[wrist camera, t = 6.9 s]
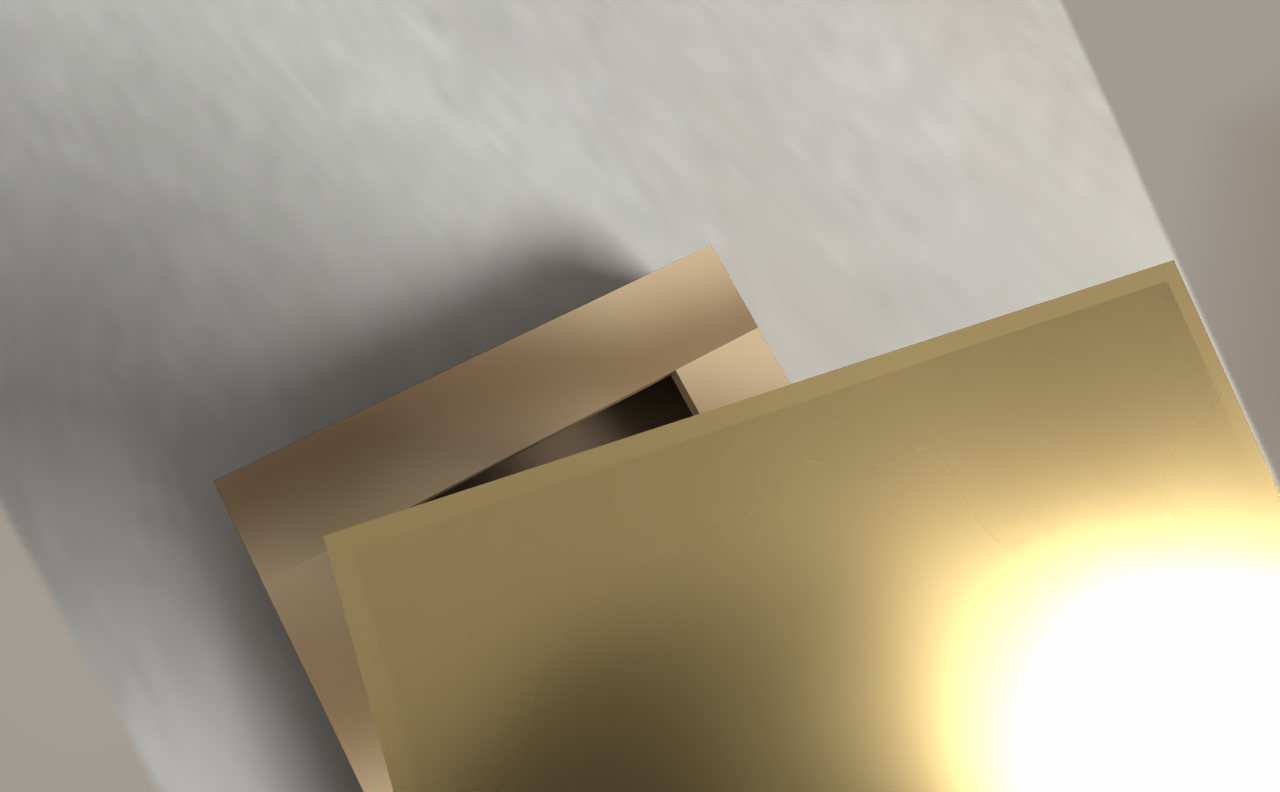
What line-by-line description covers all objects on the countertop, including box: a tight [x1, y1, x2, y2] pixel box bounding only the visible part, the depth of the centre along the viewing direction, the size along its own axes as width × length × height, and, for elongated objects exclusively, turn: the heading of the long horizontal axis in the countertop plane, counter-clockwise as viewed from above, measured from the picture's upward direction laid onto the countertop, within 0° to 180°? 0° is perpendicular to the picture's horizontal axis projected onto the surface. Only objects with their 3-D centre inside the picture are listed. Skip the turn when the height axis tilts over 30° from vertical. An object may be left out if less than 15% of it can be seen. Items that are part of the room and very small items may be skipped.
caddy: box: [214, 245, 790, 792], centre depth 19 cm, size 13×13×4 cm
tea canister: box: [323, 260, 1280, 792], centre depth 10 cm, size 5×5×13 cm
